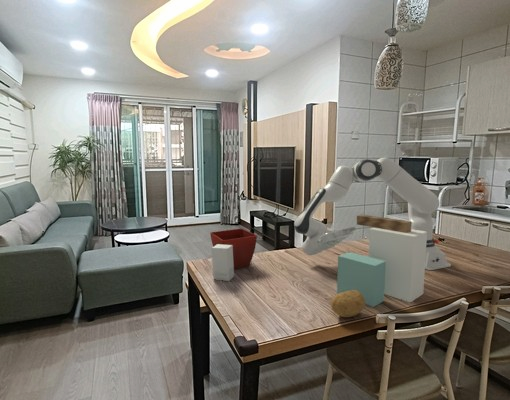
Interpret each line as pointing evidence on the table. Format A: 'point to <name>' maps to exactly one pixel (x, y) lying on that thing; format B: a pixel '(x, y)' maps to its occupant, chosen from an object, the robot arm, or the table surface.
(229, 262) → the skincare box
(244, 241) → the plant pot
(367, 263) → the teal box
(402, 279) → the stand
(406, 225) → the rail
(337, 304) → the potato
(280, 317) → the table surface
